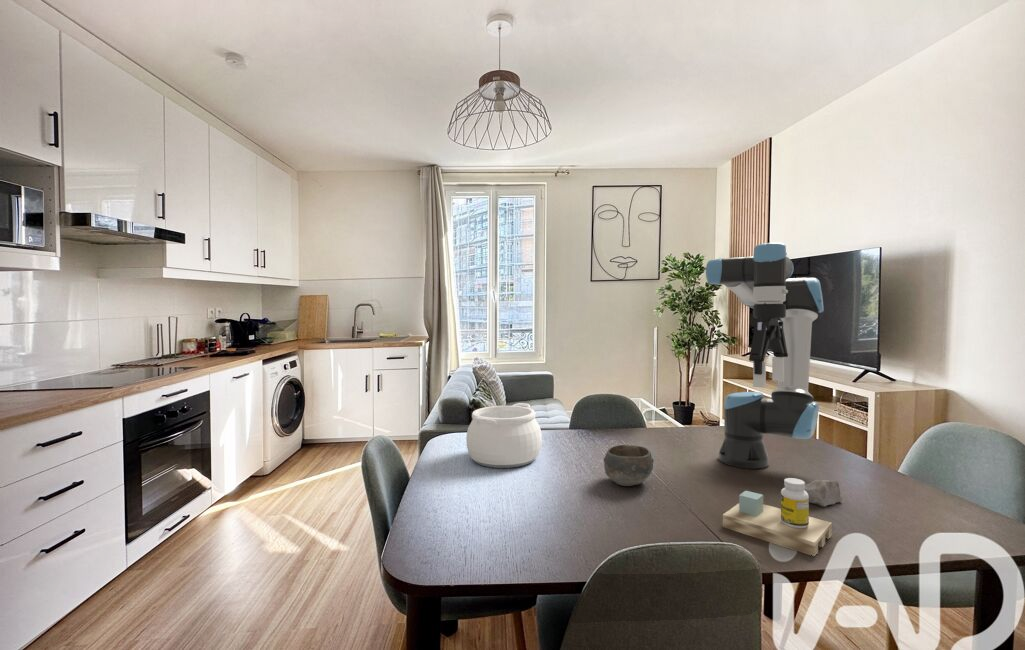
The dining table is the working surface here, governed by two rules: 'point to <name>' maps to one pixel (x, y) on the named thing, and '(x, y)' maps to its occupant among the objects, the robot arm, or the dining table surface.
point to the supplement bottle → (794, 504)
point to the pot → (504, 436)
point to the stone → (823, 492)
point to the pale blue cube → (751, 503)
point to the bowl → (628, 464)
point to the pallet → (779, 529)
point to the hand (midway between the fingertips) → (769, 384)
